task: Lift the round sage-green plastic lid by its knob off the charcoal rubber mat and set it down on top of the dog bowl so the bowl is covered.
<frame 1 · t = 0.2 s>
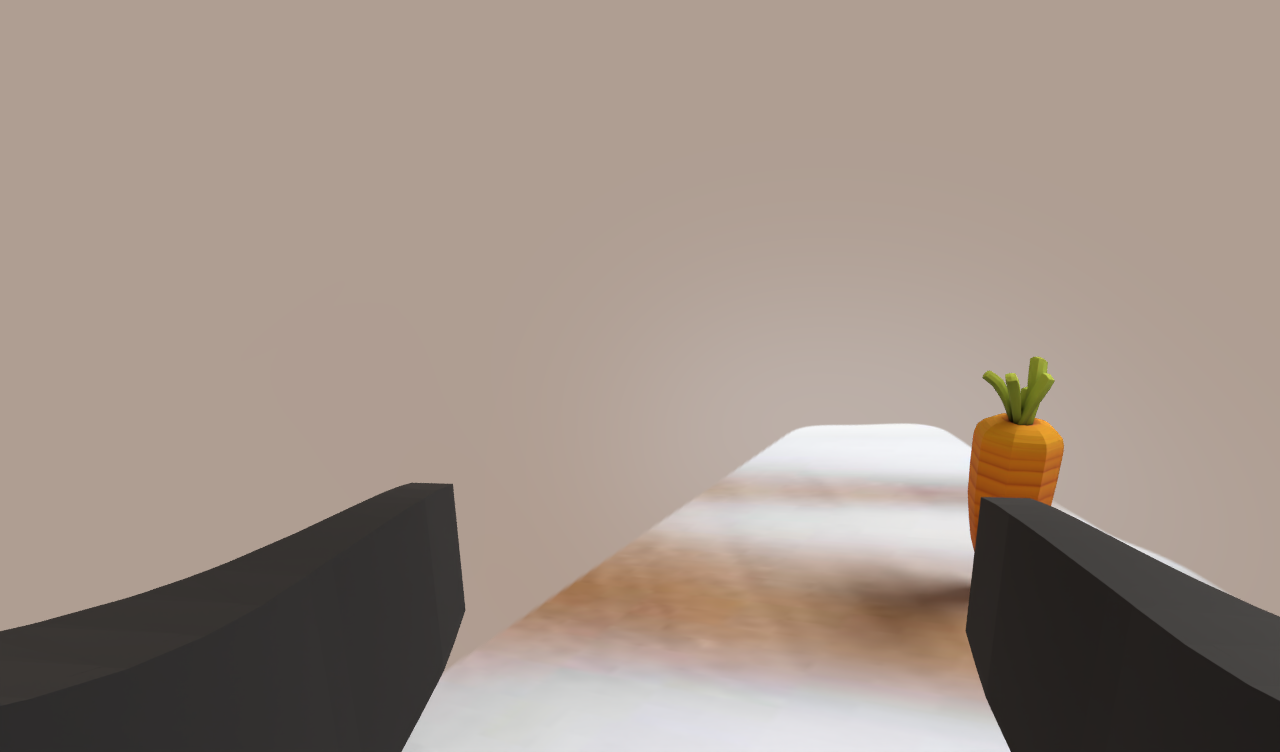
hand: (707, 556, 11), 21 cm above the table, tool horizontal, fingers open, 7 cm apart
carrot: (993, 592, 51), on the table
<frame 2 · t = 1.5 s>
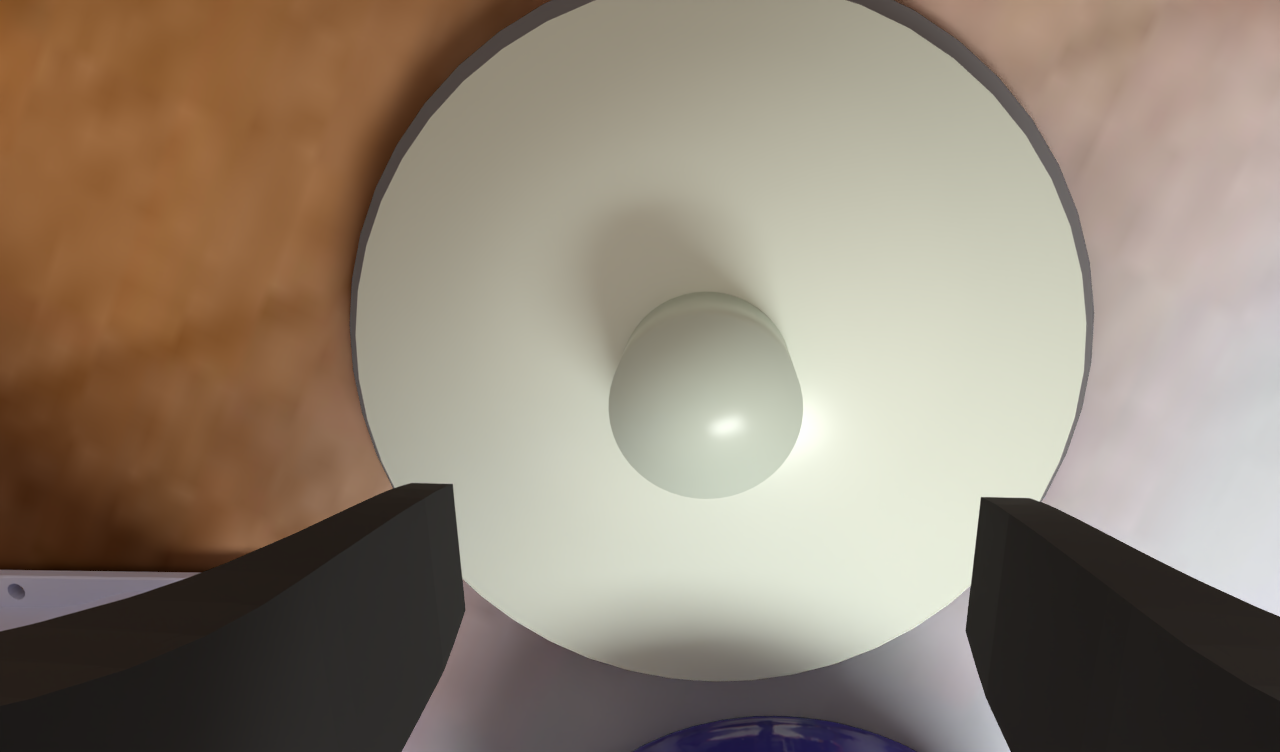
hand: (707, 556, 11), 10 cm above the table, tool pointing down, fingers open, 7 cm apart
mat: (706, 361, 20), on the table
lid: (706, 366, 20), resting on mat
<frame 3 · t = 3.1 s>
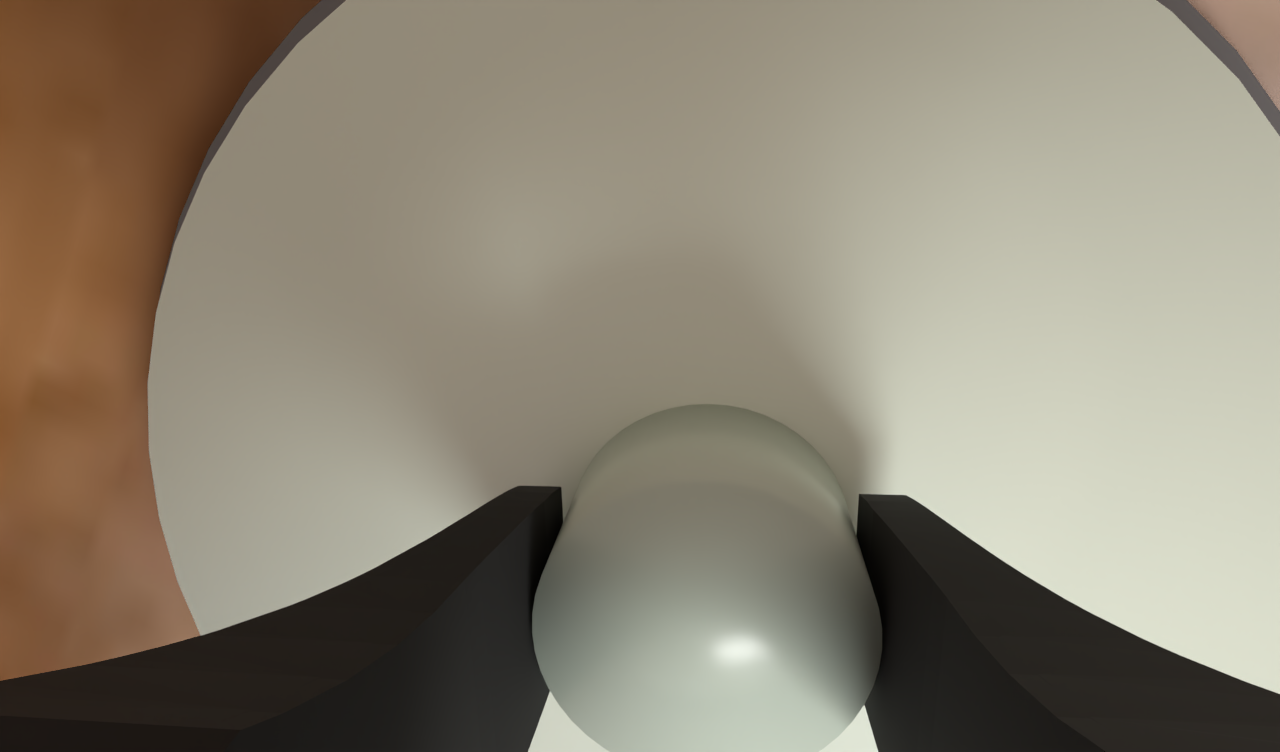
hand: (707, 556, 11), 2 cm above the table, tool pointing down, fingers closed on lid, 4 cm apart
mat: (710, 498, 13), on the table
lid: (709, 509, 12), resting on mat, touching gripper
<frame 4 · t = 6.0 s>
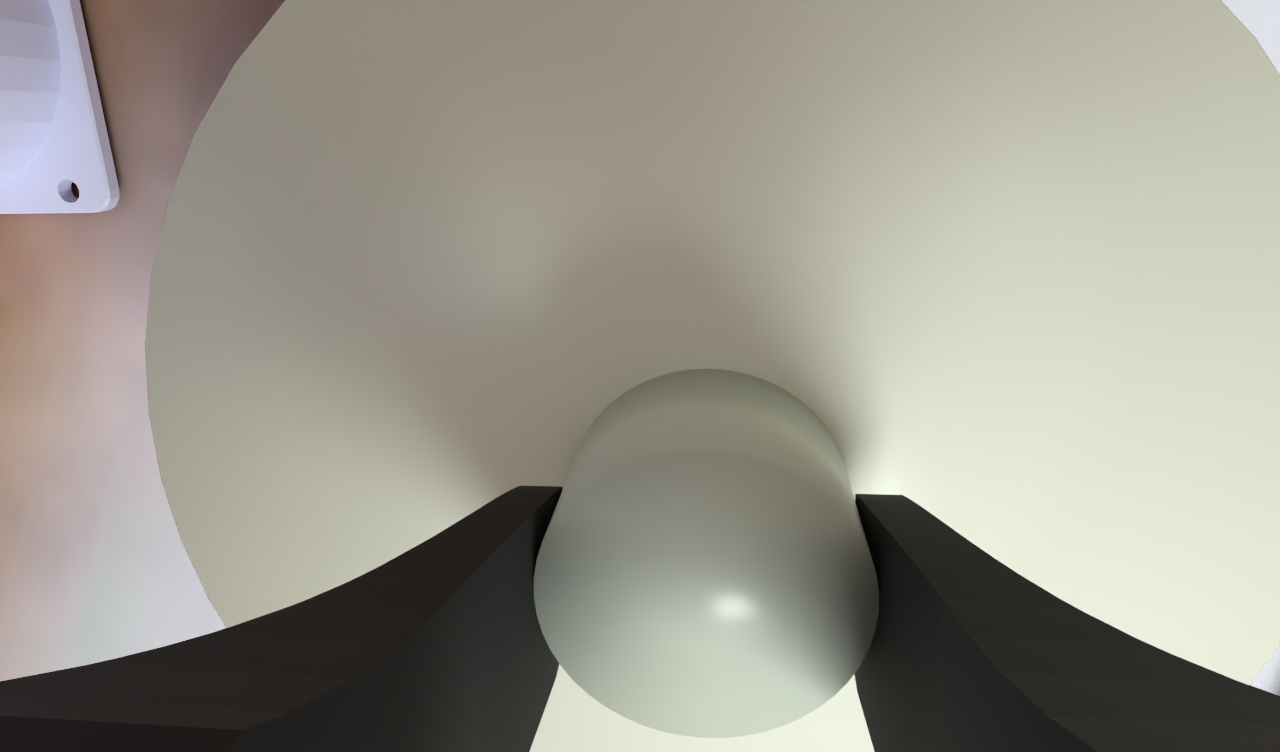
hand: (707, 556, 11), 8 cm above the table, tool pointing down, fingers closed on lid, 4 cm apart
lid: (708, 472, 12), point 7 cm above the table, touching gripper
when the fingers open (8 cm above the table, at t = 6.1 s): lid drops 1 cm, resting on dog bowl.
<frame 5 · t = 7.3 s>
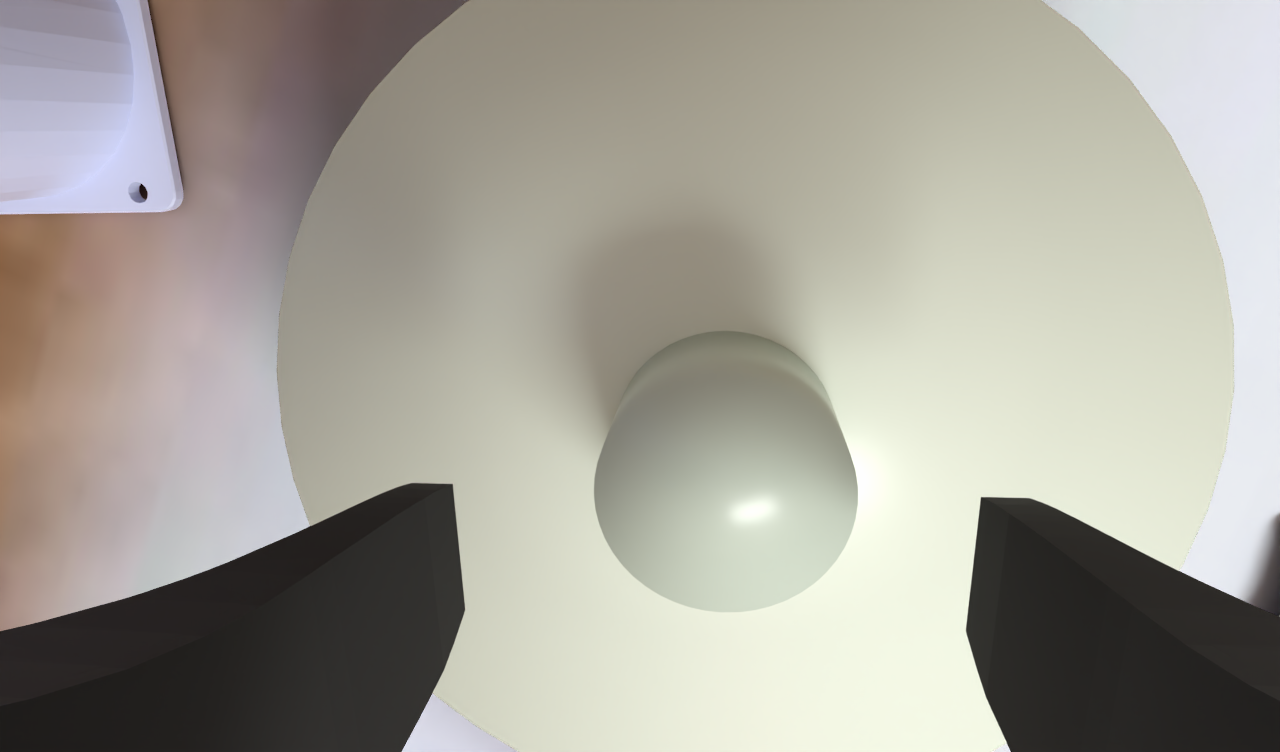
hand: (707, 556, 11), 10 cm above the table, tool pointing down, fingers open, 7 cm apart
lid: (724, 422, 15), point 6 cm above the table, touching dog bowl
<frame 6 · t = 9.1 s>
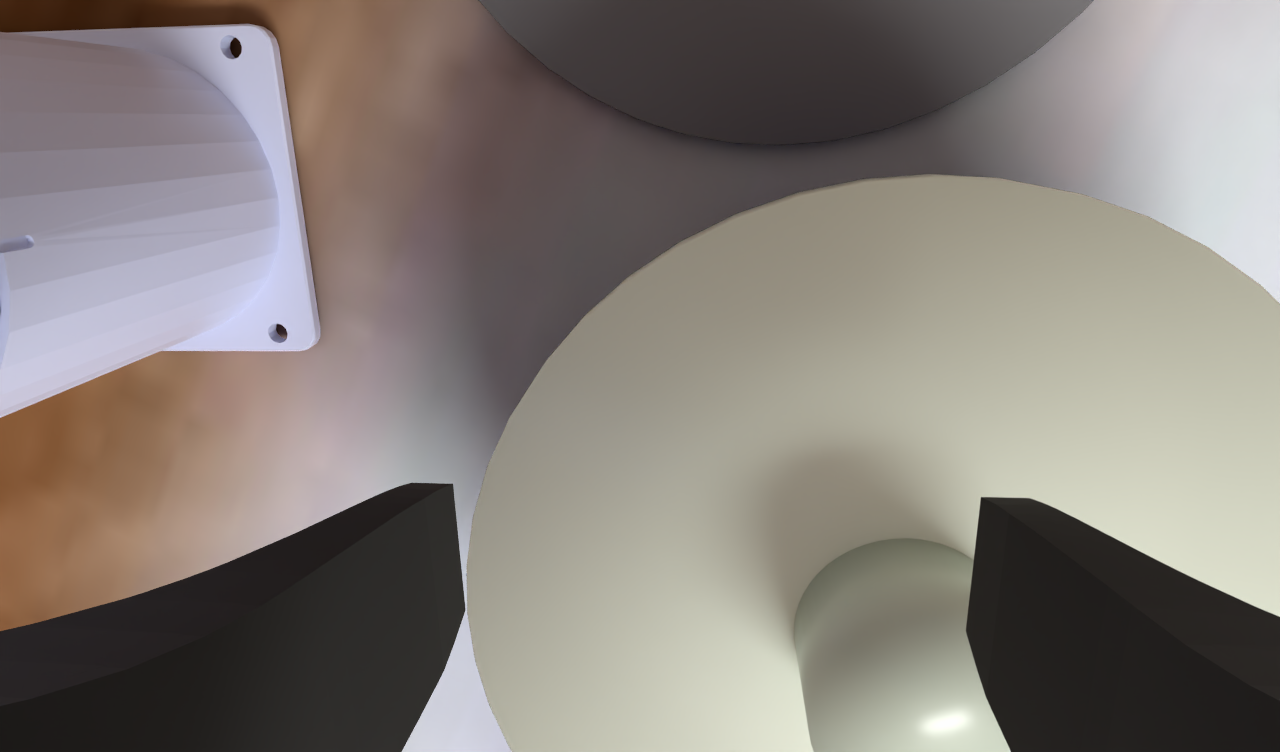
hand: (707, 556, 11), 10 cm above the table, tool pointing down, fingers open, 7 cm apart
lid: (890, 607, 16), point 6 cm above the table, touching dog bowl
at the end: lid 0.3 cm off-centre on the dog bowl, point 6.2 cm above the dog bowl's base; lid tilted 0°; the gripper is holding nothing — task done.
